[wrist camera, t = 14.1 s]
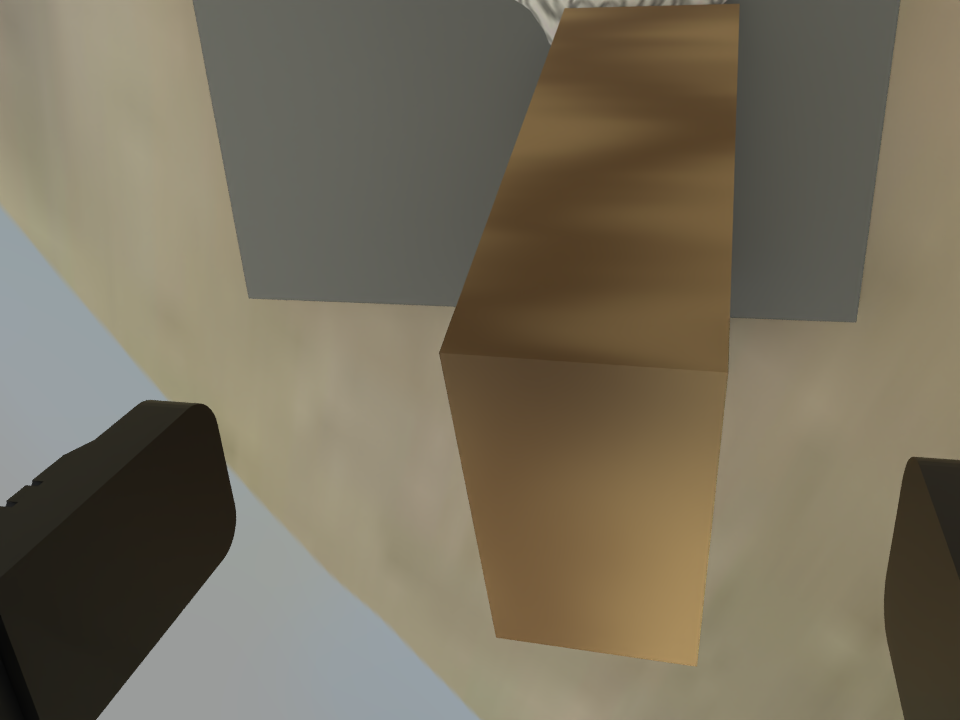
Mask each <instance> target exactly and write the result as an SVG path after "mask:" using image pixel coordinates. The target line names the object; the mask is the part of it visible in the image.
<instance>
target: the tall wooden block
mask: <svg viewBox="0 0 960 720" xmlns="http://www.w3.org/2000/svg"><path fill="white" fill-rule="evenodd" d="M739 9H740V4H709V5H671V6H633V7H594V8H565V9H564V11H563V14H562V17H561V20H560V22H559V25H558V28H557V31H556V33H555V36H554V39H553V42H552V44H551V47H550V50H549V53H548V55H547V58H546V61H545V64H544V66H543V69H542V72H541V75H540V77H539V80H538V83H537V86H536V88H535V91H534V94H533V97H532V99H531V102H530V105H529V108H528V110H527V113H526V116H525V119H524V121H523V124H522V127H521V130H520V132H519V135H518V138H517V140H516V143H515V146H514V149H513V151H512V154H511V157H510V160H509V162H508V165H507V168H506V171H505V173H504V176H503V179H502V182H501V184H500V187H499V190H498V193H497V195H496V198H495V201H494V204H493V206H492V209H491V212H490V215H489V217H488V220H487V223H486V226H485V228H484V231H483V234H482V237H481V239H480V242H479V245H478V248H477V250H476V253H475V256H474V259H473V261H472V264H471V267H470V270H469V272H468V275H467V278H466V281H465V283H464V286H463V289H462V292H461V294H460V297H459V300H458V303H457V305H456V308H455V311H454V314H453V316H452V319H451V322H450V325H449V327H448V330H447V333H446V336H445V338H444V341H443V344H442V347H441V349H440V352H439V354H440V359H441V364H442V369H443V374H444V379H445V384H446V389H447V394H448V399H449V404H450V409H451V414H452V419H453V424H454V429H455V434H456V439H457V444H458V449H459V454H460V459H461V464H462V469H463V474H464V479H465V484H466V489H467V494H468V499H469V504H470V509H471V514H472V519H473V524H474V529H475V534H476V539H477V544H478V549H479V554H480V559H481V564H482V569H483V574H484V579H485V584H486V589H487V594H488V599H489V604H490V609H491V614H492V619H493V624H494V629H495V634H496V637H497V638H503V639H510V640H517V641H524V642H531V643H538V644H545V645H552V646H559V647H565V648H572V649H579V650H586V651H593V652H600V653H607V654H614V655H621V656H627V657H634V658H641V659H648V660H655V661H662V662H669V663H676V664H683V665H690V666H696V667H697V660H698V651H699V641H700V632H701V623H702V613H703V604H704V594H705V585H706V576H707V566H708V557H709V547H710V538H711V529H712V519H713V510H714V501H715V491H716V482H717V472H718V463H719V454H720V444H721V435H722V426H723V416H724V407H725V397H726V388H727V379H728V361H729V329H730V297H731V265H732V233H733V201H734V169H735V137H736V105H737V73H738V41H739Z"/></svg>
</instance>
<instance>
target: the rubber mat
mask: <svg viewBox="0 0 960 720" xmlns="http://www.w3.org/2000/svg"><path fill="white" fill-rule="evenodd" d="M724 4H740V9H739V41H738V73H737V105H736V137H735V169H734V201H733V233H732V265H731V297H730V317H731V318H756V319H782V320H807V321H832V322H856V321H857V313H858V306H859V299H860V291H861V284H862V277H863V269H864V262H865V255H866V247H867V240H868V233H869V226H870V218H871V211H872V204H873V196H874V189H875V182H876V174H877V167H878V160H879V152H880V145H881V138H882V130H883V123H884V116H885V109H886V101H887V94H888V87H889V79H890V72H891V65H892V57H893V50H894V43H895V35H896V28H897V21H898V14H899V6H900V0H727V1H726V2H725V3H724ZM193 5H194V10H195V15H196V21H197V26H198V31H199V37H200V42H201V47H202V53H203V58H204V63H205V68H206V74H207V79H208V84H209V90H210V95H211V100H212V106H213V111H214V116H215V122H216V127H217V132H218V138H219V143H220V148H221V153H222V159H223V164H224V169H225V175H226V180H227V185H228V191H229V196H230V201H231V207H232V212H233V217H234V223H235V228H236V233H237V238H238V244H239V249H240V254H241V260H242V265H243V270H244V276H245V281H246V286H247V292H248V297H249V298H252V299H278V300H303V301H328V302H353V303H378V304H404V305H429V306H454V307H456V305H457V303H458V300H459V297H460V294H461V292H462V289H463V286H464V283H465V281H466V278H467V275H468V272H469V270H470V267H471V264H472V261H473V259H474V256H475V253H476V250H477V248H478V245H479V242H480V239H481V237H482V234H483V231H484V228H485V226H486V223H487V220H488V217H489V215H490V212H491V209H492V206H493V204H494V201H495V198H496V195H497V193H498V190H499V187H500V184H501V182H502V179H503V176H504V173H505V171H506V168H507V165H508V162H509V160H510V157H511V154H512V151H513V149H514V146H515V143H516V140H517V138H518V135H519V132H520V130H521V127H522V124H523V121H524V119H525V116H526V113H527V110H528V108H529V105H530V102H531V99H532V97H533V94H534V91H535V88H536V86H537V83H538V80H539V77H540V75H541V72H542V69H543V66H544V64H545V61H546V58H547V55H548V53H549V50H550V47H551V44H550V43H549V42H548V39H547V37H546V34H545V32H544V30H543V28H542V27H541V25H540V24H539V23H538V21H537V20H536V18H535V17H534V15H533V14H532V12H531V11H530V10H529V9H528V8H526V7H525V6H524V5H522V4H521V3H519V2H517V1H515V0H193Z"/></svg>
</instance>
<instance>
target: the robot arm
mask: <svg viewBox="0 0 960 720" xmlns="http://www.w3.org/2000/svg"><path fill="white" fill-rule="evenodd" d="M235 526H236V509H235V503H234V499H233V494H232V489H231V485H230V480H229V475H228V471H227V466H226V461H225V457H224V452H223V447H222V443H221V438H220V433H219V429H218V424H217V421H216V418H215V415H214V413H213V412H212V410H211V409H210V408H209V407H208V406H206V405H204V404H199V403H185V402H171V401H158V400H157V401H156V400H146V401H143V402H141V403H140V404H138V405H137V406H136V407H134V408H133V409H132V410H131V411H129V412H128V413H127V414H126V415H125V416H123V417H122V418H121V419H120V420H118V421H117V422H116V423H115V424H114V425H112V426H111V427H110V428H109V429H107V430H106V431H105V432H104V433H103V434H101V435H100V436H99V437H98V438H96V439H95V440H93V441H91V442H89V443H87V444H85V445H83V446H81V447H79V448H77V449H75V450H73V451H71V452H69V453H67V454H65V455H63V456H62V457H61V458H59V459H58V460H57V461H56V462H54V463H53V464H52V465H51V466H49V467H48V468H47V469H46V470H44V471H43V472H42V473H41V474H40V475H38V476H37V477H36V478H34V479H33V480H32V485H31V486H28V485H26V486H24V487H23V488H22V489H21V490H20V491H18V492H17V493H16V494H14V495H13V496H12V497H11V498H9V499H8V500H7V504H6V506H5V507H1V506H0V720H96V719H97V718H98V717H99V715H100V714H101V713H102V712H103V710H104V709H105V708H106V707H107V705H108V704H109V703H110V701H111V700H112V699H113V698H114V696H115V695H116V694H117V693H118V691H119V690H120V689H121V687H122V686H123V685H124V683H126V681H127V680H128V679H129V677H130V676H131V675H132V674H133V672H134V671H135V670H136V669H137V667H138V666H139V665H140V663H141V662H142V661H143V660H144V659H145V657H146V656H147V655H148V654H149V652H150V651H151V650H152V649H153V647H154V646H155V645H156V644H157V642H158V641H159V640H160V638H161V637H162V636H163V635H164V633H165V632H166V631H167V630H168V628H169V627H170V626H171V625H172V623H173V622H174V621H175V620H176V618H177V617H178V616H179V614H180V613H181V612H182V611H183V609H184V608H185V607H186V605H187V604H188V603H189V602H190V601H191V599H192V598H193V597H194V596H195V594H196V593H197V592H198V591H199V589H200V588H201V587H202V585H203V584H204V583H205V582H206V581H207V579H208V578H209V577H210V575H211V574H212V573H213V572H214V570H215V569H216V568H217V567H218V565H219V564H220V563H221V561H222V560H223V559H224V558H225V556H226V554H227V553H228V551H229V549H230V546H231V544H232V540H233V537H234V532H235ZM884 617H885V630H886V637H887V642H888V647H889V651H890V656H891V660H892V665H893V669H894V674H895V678H896V683H897V687H898V692H899V696H900V701H901V706H902V710H903V715H904V719H905V720H960V460H950V459H936V458H923V457H911V458H910V459H909V461H908V462H907V465H906V467H905V471H904V475H903V480H902V486H901V492H900V498H899V504H898V510H897V516H896V521H895V527H894V533H893V539H892V545H891V551H890V557H889V562H888V568H887V574H886V581H885V594H884Z"/></svg>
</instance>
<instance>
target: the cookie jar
mask: <svg viewBox="0 0 960 720" xmlns="http://www.w3.org/2000/svg"><path fill="white" fill-rule="evenodd" d="M515 1H517V2H519V3H521V4H522V5H524V6H525V7H526V8H528V9H529V10H530V11H531V12H532V14H533V15H534V17H535V18H536V20H537V21H538V23H539V24H540V25H541V27H542V28H543V30H544V32H545V34H546V37H547V39H548V42H549V43H550V44H552V42H553V39H554V36H555V33H556V31H557V28H558V25H559V22H560V20H561V17H562V14H563V11H564V9H565V8H594V7H633V6H671V5H709V4H724V3H725V2H726V1H727V0H515Z"/></svg>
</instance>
